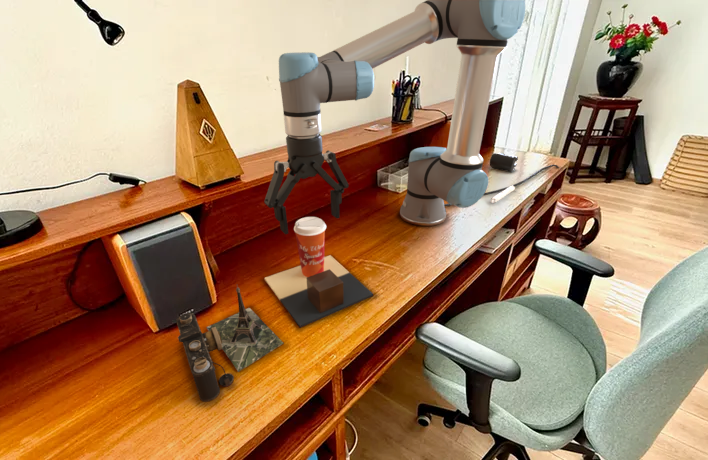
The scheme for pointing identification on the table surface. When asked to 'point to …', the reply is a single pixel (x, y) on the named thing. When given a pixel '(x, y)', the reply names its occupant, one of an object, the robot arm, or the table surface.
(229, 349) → the eiffel tower figurine
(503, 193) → the marker
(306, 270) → the paper cup
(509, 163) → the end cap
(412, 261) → the table surface
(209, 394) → the camera
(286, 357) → the table surface
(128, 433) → the table surface
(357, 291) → the sorting mat
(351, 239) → the table surface
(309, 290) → the walnut block
